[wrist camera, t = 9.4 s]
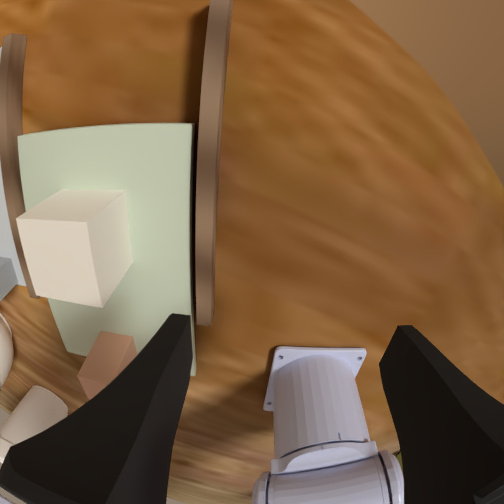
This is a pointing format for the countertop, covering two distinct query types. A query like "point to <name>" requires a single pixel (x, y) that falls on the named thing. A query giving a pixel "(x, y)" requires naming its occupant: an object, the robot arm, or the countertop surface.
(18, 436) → the foam cup
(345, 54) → the countertop surface
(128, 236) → the cream cube
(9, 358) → the lidded jar
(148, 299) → the green flat panel
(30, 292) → the lane rails
